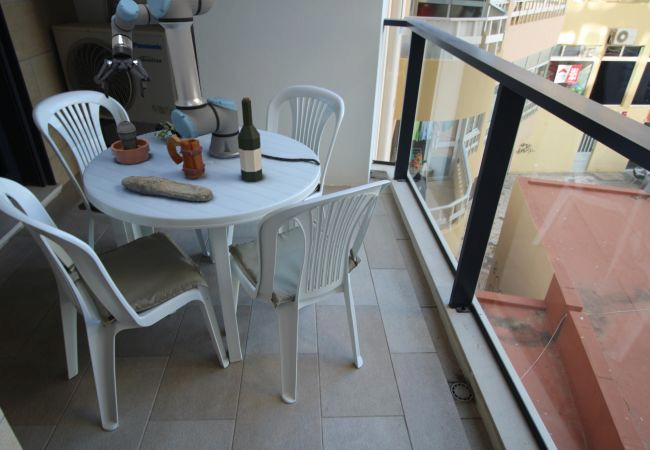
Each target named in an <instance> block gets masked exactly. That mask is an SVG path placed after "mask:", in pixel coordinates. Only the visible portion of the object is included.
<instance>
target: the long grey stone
mask: <svg viewBox="0 0 650 450" xmlns="http://www.w3.org/2000/svg"><path fill="white" fill-rule="evenodd" d="M120 183H121V185H122V186H123V187H124V189H126V190H127V189H128V190H130V191H133V192H137V193H141V194H142V195H154V196H165V197H168V198H172V199H173V198H175V199H181V200H184V201H185V200H186V201H190V202H207V201H210V200H212V199H213V198H214V193H213V191H212V190H211V189H210V188H207V187H205V186H201V185H195V184H191V183H186V182H185V183H184V182H178V181H175V180H170V179H169V178H166V177H160V176H151V175H149V176H145V175H141V176H140V175H138V176H136V175H129V176H126V177H124V178H122V180H121V182H120Z"/></svg>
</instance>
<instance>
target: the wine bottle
mask: <svg viewBox="0 0 650 450" xmlns="http://www.w3.org/2000/svg"><path fill="white" fill-rule="evenodd" d="M241 113H242V114H241V115H242V127H241V128H240V129H239V135H238V145H239V156H238V157H239V166H240V167H239V168H240V176H241V180H242V181H244V182H246V183H257V182H259V181H261V180H263V163H262V162H263V161H262V156H261V154H262V146H261V145H262V144H261V134H260V132H259V131H258V129H257V128H256V126H255V125H254V124H253V110H252V100H251V99H250V97H242V99H241Z"/></svg>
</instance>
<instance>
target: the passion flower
mask: <svg viewBox="0 0 650 450" xmlns="http://www.w3.org/2000/svg"><path fill="white" fill-rule="evenodd" d="M160 126H162V131H161V130H160V132H159V133H158V132H157V131H155V132H154V133H153V136H154V137H156V136H157V138H158V139H160V138H161V140H162V142H164V139H165V137H166V140H167V141H168V139H169V137H171V136H173V135H176V136H177V137H178V138H179V139H181V140H182V139H184V137H182V136H181V135H180V134H179V133H178V131H177V130H176V129H175V127H174V125H173V122H170V121H165V123H162V122H160ZM169 132H170V134H169Z"/></svg>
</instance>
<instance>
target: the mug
mask: <svg viewBox="0 0 650 450" xmlns="http://www.w3.org/2000/svg"><path fill="white" fill-rule="evenodd" d="M170 136H171V135H170ZM177 147H180V149H179V152H178V150H177ZM166 150H167V153H168V156H169V157H170V159H171V160H172V162H173V163H175V165H178V166H179V165H180V164H182V169H181V171H182V172H183V174H184V176H185V177H187V178H188V179H192V180H193V179H199V178H201V177H203V176H204V175H205V172H206V164H205V163H204V162H203V154H202V153H203V146H201V144H200V140H199V138H189V139H186V138H181V139H179V138H178V137H177V136H176V134H175V135H172V136H171V137H169V139H168V140H167V141H166ZM180 154H181V155H180Z"/></svg>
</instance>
